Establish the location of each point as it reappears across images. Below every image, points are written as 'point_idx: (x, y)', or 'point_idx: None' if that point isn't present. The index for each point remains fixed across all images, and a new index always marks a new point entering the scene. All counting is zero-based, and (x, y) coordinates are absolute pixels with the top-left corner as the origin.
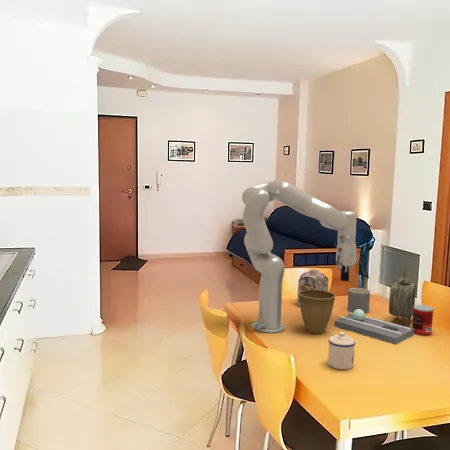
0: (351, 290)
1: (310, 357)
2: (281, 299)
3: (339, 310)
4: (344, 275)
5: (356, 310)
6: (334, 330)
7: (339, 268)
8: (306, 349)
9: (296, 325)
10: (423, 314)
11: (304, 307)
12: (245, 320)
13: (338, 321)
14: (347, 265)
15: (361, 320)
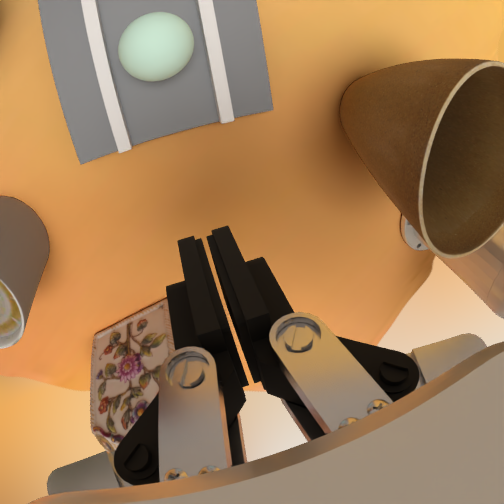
0: (1, 337)
1: (489, 9)
2: (497, 237)
3: (81, 270)
4: (282, 291)
5: (177, 48)
6: (305, 67)
7: (475, 339)
8: (473, 38)
9: (370, 189)
10: None
11: (489, 149)
12: (418, 279)
13: (267, 89)
14: (483, 376)
15: None
